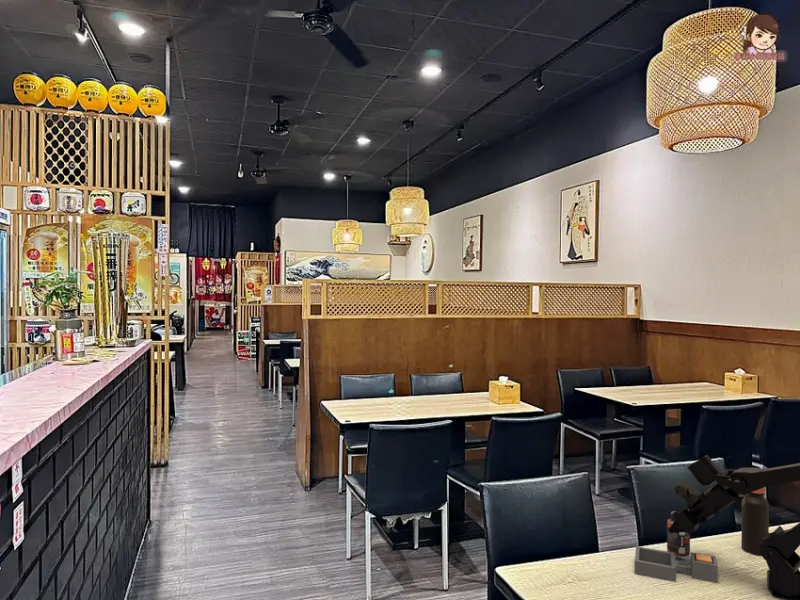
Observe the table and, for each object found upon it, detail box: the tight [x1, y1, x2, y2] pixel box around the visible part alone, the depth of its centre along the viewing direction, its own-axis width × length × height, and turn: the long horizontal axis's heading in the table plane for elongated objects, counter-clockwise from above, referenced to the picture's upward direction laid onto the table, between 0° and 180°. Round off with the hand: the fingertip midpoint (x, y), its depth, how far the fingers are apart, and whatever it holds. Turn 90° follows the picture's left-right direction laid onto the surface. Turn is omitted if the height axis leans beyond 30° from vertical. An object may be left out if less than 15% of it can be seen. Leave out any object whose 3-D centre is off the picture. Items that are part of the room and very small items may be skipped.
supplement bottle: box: [666, 510, 691, 557], centre depth 159 cm, size 6×6×11 cm
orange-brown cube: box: [695, 552, 712, 563], centre depth 149 cm, size 4×4×4 cm
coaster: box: [666, 550, 691, 566], centre depth 159 cm, size 8×8×1 cm
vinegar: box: [740, 487, 770, 556], centre depth 164 cm, size 7×7×20 cm
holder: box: [634, 545, 719, 584], centre depth 150 cm, size 20×10×4 cm, turn 65°
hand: (673, 528), depth 160 cm, fingers closed on supplement bottle, 6 cm apart
